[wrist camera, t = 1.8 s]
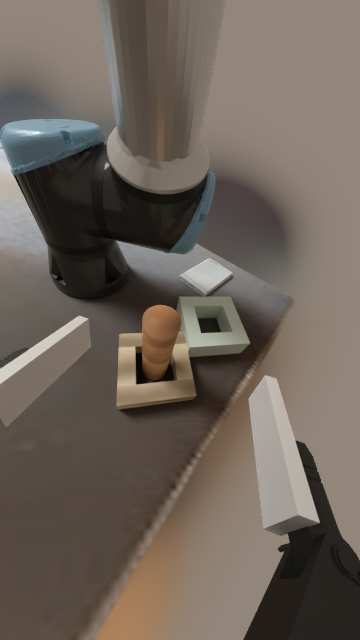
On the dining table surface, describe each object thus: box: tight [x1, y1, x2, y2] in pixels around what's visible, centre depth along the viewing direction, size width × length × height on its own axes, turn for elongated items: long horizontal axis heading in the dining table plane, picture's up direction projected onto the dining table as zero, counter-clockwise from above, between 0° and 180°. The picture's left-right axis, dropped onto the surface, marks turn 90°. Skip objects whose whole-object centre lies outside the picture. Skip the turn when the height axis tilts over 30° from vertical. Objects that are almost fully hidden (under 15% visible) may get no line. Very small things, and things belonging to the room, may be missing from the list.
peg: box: [142, 305, 181, 381], centre depth 24 cm, size 4×4×14 cm
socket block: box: [176, 297, 250, 357], centre depth 34 cm, size 11×11×4 cm
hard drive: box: [179, 258, 232, 297], centre depth 46 cm, size 2×8×12 cm
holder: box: [117, 331, 197, 410], centre depth 28 cm, size 11×11×2 cm
